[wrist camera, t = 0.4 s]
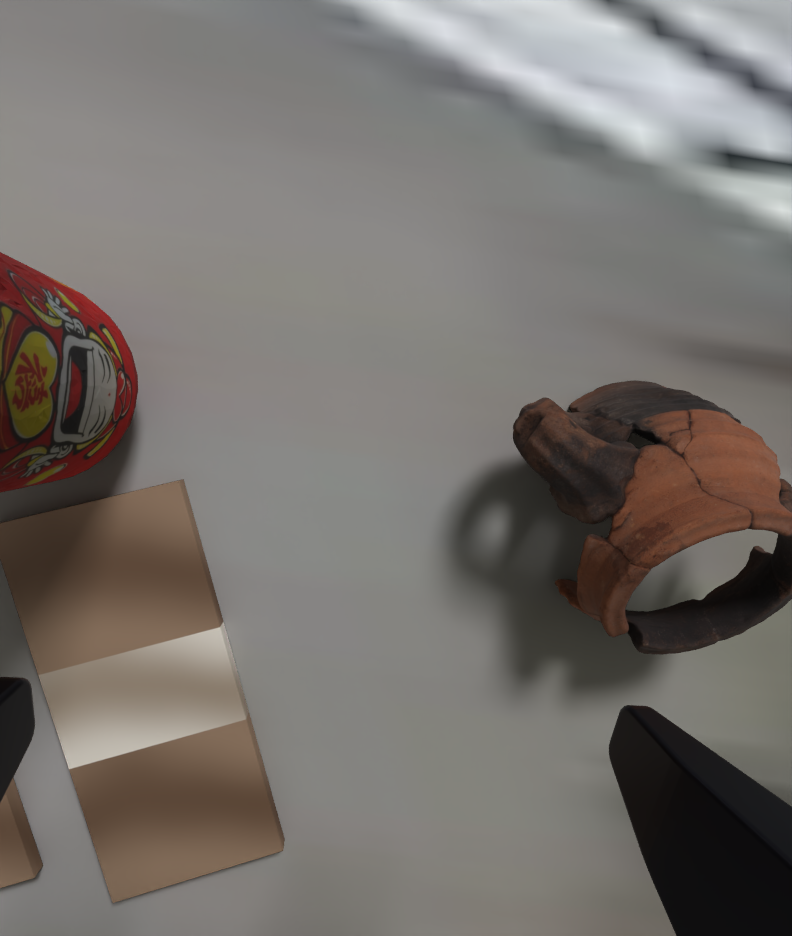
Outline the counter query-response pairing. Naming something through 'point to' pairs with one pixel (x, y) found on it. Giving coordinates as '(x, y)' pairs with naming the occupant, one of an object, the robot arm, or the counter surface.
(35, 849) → the lane broken
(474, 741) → the counter surface
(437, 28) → the counter surface
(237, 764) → the brown wooden board
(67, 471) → the soda can
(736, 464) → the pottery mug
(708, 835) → the robot arm
